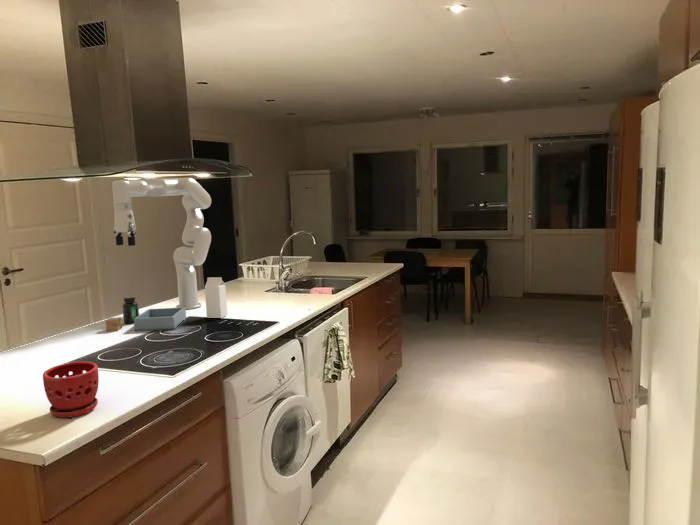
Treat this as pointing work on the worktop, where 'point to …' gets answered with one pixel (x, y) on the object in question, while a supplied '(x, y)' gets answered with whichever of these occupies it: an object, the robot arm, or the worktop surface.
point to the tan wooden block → (113, 324)
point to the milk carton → (215, 297)
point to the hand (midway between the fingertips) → (125, 245)
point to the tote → (159, 319)
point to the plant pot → (71, 388)
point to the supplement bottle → (130, 309)
